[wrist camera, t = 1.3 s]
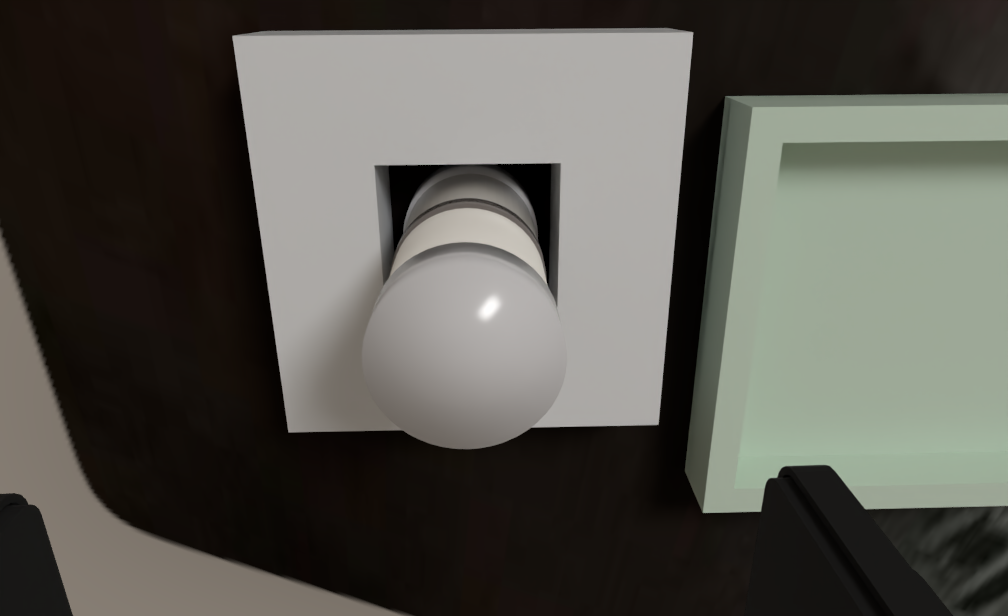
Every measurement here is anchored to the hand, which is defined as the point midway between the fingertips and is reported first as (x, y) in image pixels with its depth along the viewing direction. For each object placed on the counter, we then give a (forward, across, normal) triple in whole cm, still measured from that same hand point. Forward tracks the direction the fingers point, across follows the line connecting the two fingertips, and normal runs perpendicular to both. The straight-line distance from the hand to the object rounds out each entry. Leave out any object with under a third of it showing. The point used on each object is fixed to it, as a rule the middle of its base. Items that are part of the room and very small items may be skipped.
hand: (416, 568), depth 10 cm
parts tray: (+16, -17, +3) cm, 23 cm away
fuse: (+16, -1, 0) cm, 16 cm away
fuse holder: (+16, -1, 0) cm, 16 cm away
